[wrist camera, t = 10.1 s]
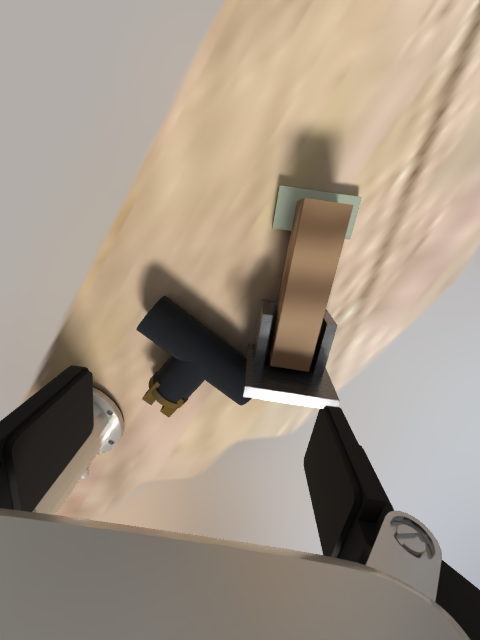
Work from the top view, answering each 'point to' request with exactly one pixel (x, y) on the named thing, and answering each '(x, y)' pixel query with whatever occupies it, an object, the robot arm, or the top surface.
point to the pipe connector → (189, 358)
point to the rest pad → (292, 195)
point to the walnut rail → (307, 280)
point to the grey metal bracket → (284, 381)
